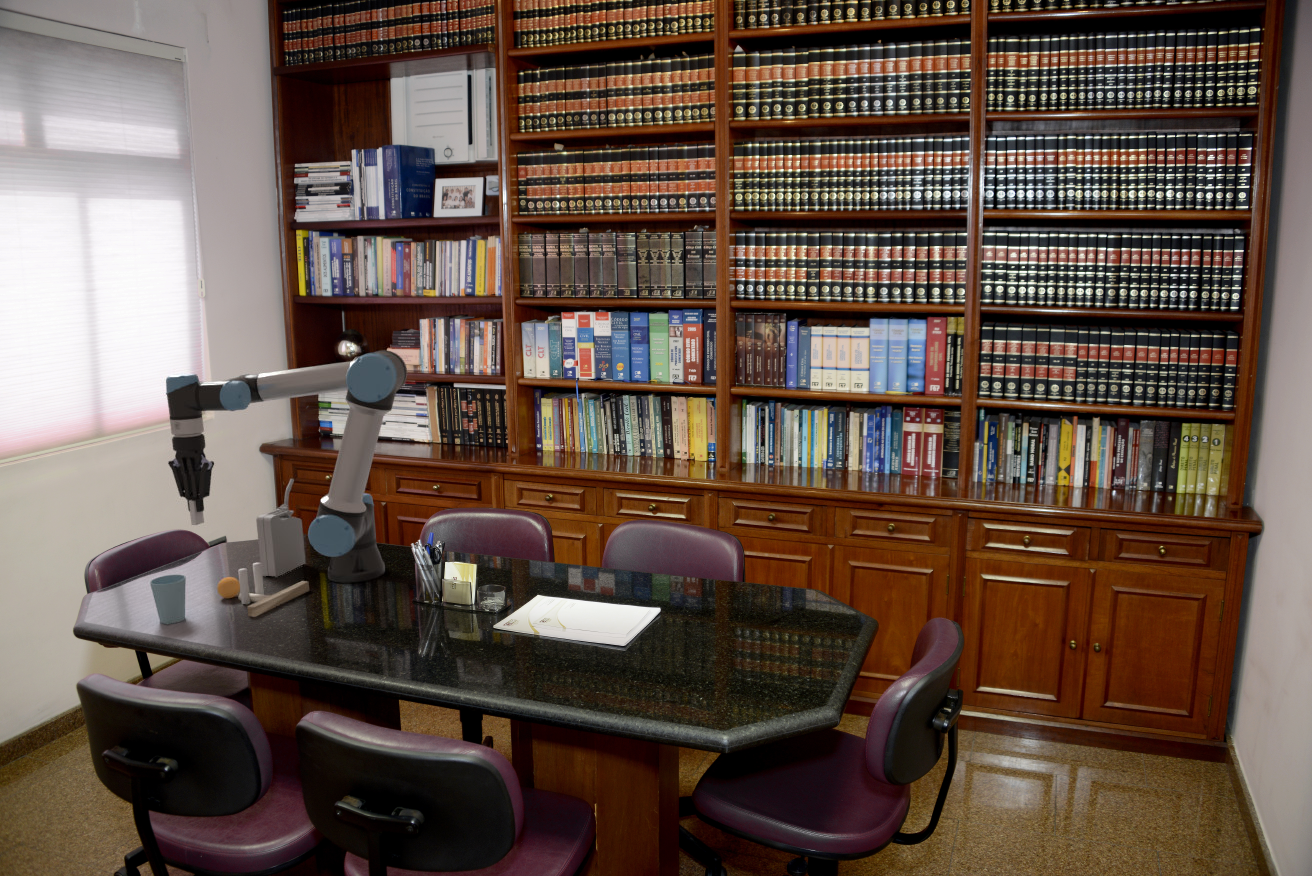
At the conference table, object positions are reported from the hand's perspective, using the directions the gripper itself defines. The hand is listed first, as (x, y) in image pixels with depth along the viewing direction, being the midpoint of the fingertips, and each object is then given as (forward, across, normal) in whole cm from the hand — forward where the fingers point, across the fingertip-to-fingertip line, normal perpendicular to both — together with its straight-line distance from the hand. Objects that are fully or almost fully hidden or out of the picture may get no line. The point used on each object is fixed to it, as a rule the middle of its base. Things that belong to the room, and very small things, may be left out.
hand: (197, 523), depth 242 cm
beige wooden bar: (+19, +24, 0) cm, 31 cm away
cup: (+20, +6, -17) cm, 27 cm away
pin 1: (+19, +16, -2) cm, 25 cm away
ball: (+17, +8, 0) cm, 19 cm away
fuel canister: (+20, +6, +24) cm, 32 cm away
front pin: (+19, +12, -1) cm, 22 cm away
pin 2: (+19, +16, +2) cm, 25 cm away
